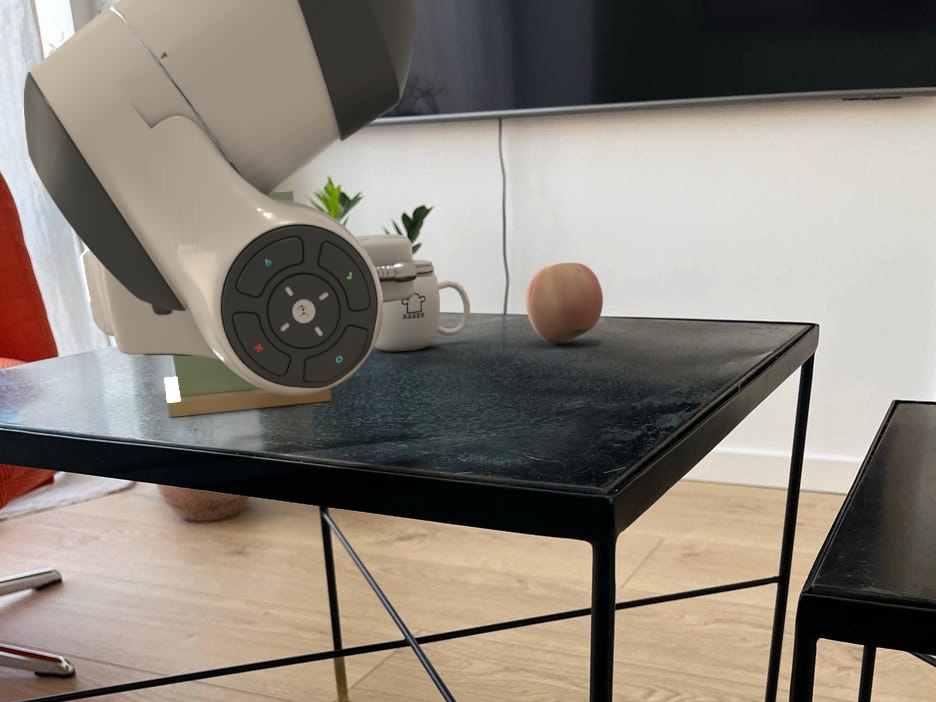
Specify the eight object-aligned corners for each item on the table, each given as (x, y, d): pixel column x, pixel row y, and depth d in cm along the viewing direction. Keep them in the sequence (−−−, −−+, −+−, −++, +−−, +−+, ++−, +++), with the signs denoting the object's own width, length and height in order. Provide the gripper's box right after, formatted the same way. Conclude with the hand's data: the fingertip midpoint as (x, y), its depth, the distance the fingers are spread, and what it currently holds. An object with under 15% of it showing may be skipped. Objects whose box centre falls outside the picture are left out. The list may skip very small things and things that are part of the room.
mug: (373, 357, 104) (366, 276, 100) (355, 346, 111) (348, 270, 108) (484, 346, 107) (480, 267, 104) (459, 336, 114) (455, 262, 111)
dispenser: (333, 403, 83) (311, 189, 76) (170, 420, 80) (131, 198, 73) (311, 377, 94) (289, 190, 88) (167, 391, 91) (133, 198, 85)
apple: (611, 338, 108) (612, 258, 105) (587, 350, 102) (587, 265, 98) (542, 337, 111) (540, 259, 108) (514, 348, 105) (512, 266, 101)
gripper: (438, 212, 59) (388, 210, 71) (66, 236, 54) (80, 229, 66) (445, 325, 61) (395, 304, 73) (91, 358, 56) (100, 329, 68)
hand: (244, 269), depth 70 cm, fingers closed
